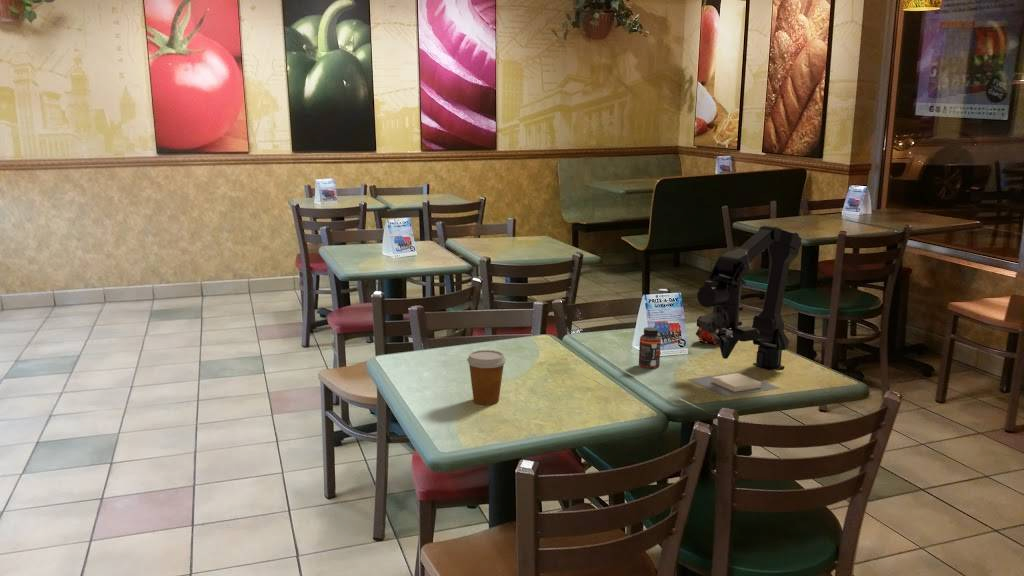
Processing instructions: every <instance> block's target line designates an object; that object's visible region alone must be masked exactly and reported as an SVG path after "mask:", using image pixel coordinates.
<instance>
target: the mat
mask: <svg viewBox="0 0 1024 576" xmlns="http://www.w3.org/2000/svg"><path fill="white" fill-rule="evenodd" d="M735 373H740V374H742V375H744V376H747V377H749V378H752V379H754V380H757V381H759V382H762V383H761V388H755V389H749V390H743V391H737V392H734V391H731V390H729V389H727V388H725V387H722V386H720V385H718V384H715V383H713V382H712V377H716V376H722V375H729V374H735ZM687 380H688V381H689V382H692V383H694V384H696V385H698V386H701V387H703V388H705V389H707V390H709V391H711V392H714V393H716V394H718V395H720V396H723V397H724V398H729V397H731V398H732V397H737V396H741V395H742V396H743V395H748V394H754V393H760V392H766V391H767V392H768V391H773V390H778V389H780V387H778V386H777V385H776V386H775V385H773V384H770V383H768V382H765V381H763V380H761V379H758V378H755V377H754V376H751V375H749V374H746V373H743V372H741V371H734V372H727V373H721V374H714V375H709V376H702V377H700V376H699V377H693V378H687Z"/></svg>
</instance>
